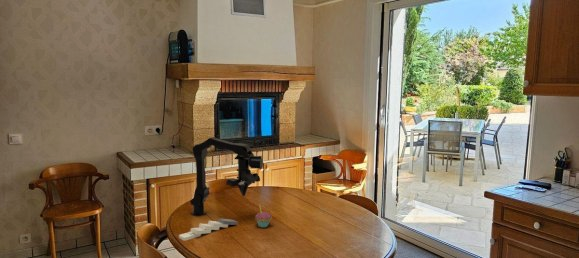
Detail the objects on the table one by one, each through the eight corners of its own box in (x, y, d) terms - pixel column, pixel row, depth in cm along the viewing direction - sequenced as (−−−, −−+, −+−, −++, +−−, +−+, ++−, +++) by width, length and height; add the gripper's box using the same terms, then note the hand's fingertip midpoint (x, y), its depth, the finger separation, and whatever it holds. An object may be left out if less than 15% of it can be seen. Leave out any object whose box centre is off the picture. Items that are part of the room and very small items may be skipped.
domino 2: (210, 233, 195) (197, 234, 188) (203, 230, 198) (190, 231, 190) (211, 229, 195) (197, 230, 188) (204, 227, 198) (190, 228, 190)
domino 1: (200, 236, 192) (184, 241, 185) (195, 233, 195) (178, 238, 188) (200, 232, 191) (184, 237, 185) (195, 230, 195) (178, 235, 188)
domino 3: (218, 230, 199) (204, 229, 193) (212, 227, 202) (198, 226, 196) (219, 226, 199) (205, 225, 193) (213, 224, 203) (199, 223, 196)
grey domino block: (237, 225, 206) (223, 224, 200) (232, 222, 210) (218, 221, 204) (238, 222, 206) (224, 220, 200) (232, 219, 210) (218, 218, 204)
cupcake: (256, 229, 201) (256, 206, 199) (253, 223, 209) (253, 201, 207) (273, 228, 203) (273, 205, 202) (269, 222, 211) (269, 200, 210)
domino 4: (227, 227, 203) (213, 226, 197) (222, 225, 206) (207, 223, 200) (228, 224, 203) (214, 223, 197) (222, 221, 206) (208, 220, 200)
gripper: (237, 172, 201) (238, 202, 203) (266, 167, 214) (266, 195, 216) (225, 169, 210) (225, 197, 211) (253, 164, 222) (253, 191, 224)
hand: (243, 195), depth 215 cm, fingers closed
